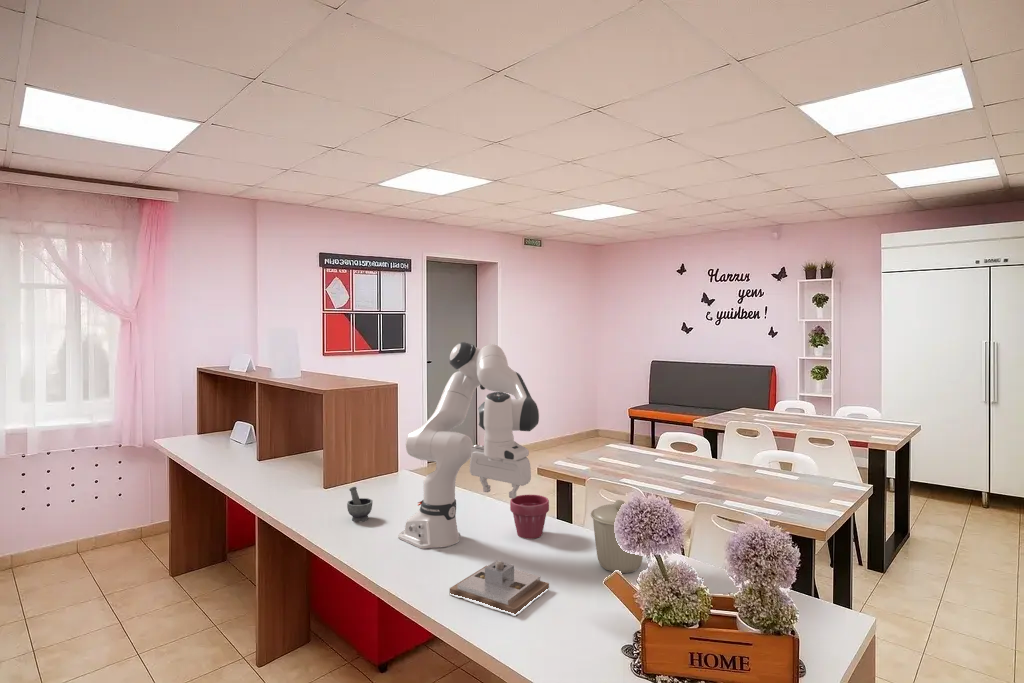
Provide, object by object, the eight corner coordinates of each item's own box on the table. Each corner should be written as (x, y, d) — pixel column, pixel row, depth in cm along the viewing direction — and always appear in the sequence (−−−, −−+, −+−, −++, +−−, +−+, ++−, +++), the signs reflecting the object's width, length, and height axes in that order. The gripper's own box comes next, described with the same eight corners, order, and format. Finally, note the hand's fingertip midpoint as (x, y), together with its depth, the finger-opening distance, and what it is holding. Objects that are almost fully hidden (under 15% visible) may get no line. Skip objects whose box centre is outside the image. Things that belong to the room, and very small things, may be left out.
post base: (449, 595, 161) (449, 565, 161) (486, 571, 176) (486, 544, 176) (515, 616, 149) (515, 584, 149) (548, 589, 164) (548, 560, 164)
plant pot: (510, 527, 214) (510, 493, 214) (547, 527, 214) (547, 493, 214) (510, 542, 200) (510, 505, 200) (550, 542, 200) (550, 505, 200)
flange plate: (457, 589, 160) (457, 570, 160) (492, 567, 174) (492, 550, 174) (508, 605, 151) (508, 585, 150) (540, 581, 165) (540, 562, 165)
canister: (659, 565, 181) (659, 499, 180) (630, 585, 167) (630, 513, 166) (610, 550, 193) (610, 488, 192) (579, 567, 179) (579, 501, 178)
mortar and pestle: (377, 519, 224) (377, 488, 223) (356, 525, 217) (356, 494, 216) (361, 512, 231) (361, 483, 231) (340, 518, 224) (340, 488, 224)
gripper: (464, 445, 170) (465, 491, 171) (521, 455, 159) (521, 504, 160) (477, 441, 176) (478, 485, 177) (533, 450, 164) (534, 497, 165)
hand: (499, 494), depth 168 cm, fingers open, 8 cm apart
